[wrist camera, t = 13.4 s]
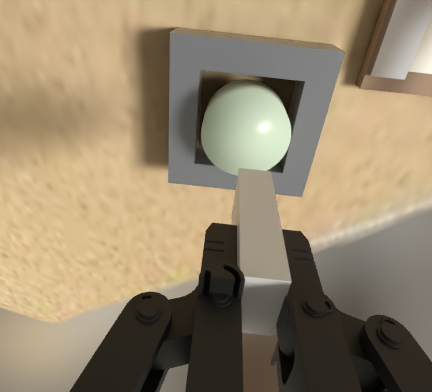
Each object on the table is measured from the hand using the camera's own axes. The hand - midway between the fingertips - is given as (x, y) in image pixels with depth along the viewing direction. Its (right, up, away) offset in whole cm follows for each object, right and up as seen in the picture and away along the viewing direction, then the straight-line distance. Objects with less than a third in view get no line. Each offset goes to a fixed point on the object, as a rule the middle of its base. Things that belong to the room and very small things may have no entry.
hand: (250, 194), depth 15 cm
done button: (0, +6, +8) cm, 10 cm away
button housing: (+1, +7, +10) cm, 12 cm away
